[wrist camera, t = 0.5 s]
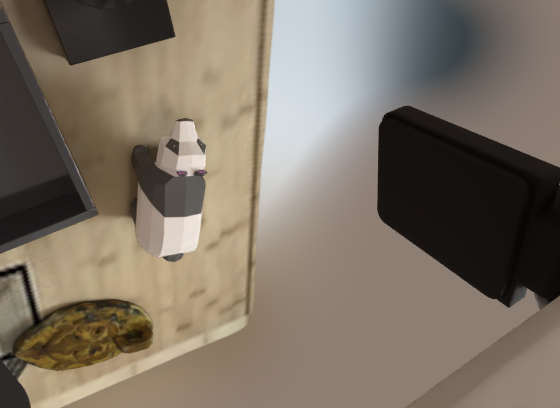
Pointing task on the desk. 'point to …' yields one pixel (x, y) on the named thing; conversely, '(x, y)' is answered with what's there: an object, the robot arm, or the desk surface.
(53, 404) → the desk surface
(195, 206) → the giant panda
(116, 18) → the black knob plate
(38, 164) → the dark grey shallow box
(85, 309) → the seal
